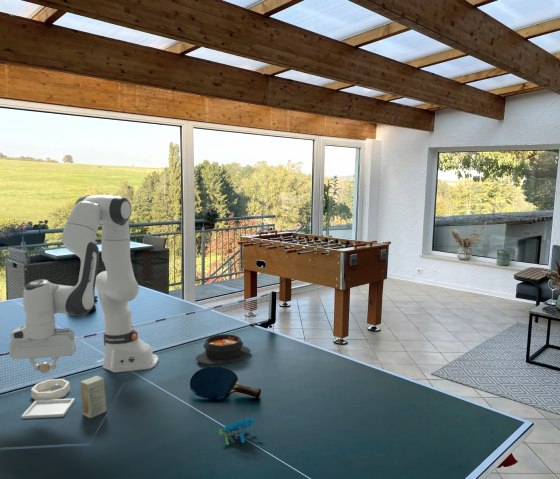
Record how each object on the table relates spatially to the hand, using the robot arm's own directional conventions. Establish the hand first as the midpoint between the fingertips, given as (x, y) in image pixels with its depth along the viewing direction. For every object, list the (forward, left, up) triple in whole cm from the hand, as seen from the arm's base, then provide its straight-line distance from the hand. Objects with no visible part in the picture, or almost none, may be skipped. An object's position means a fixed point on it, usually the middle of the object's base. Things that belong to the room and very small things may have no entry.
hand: (45, 369), depth 164 cm
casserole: (-58, -41, -15) cm, 72 cm away
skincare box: (-17, +5, -15) cm, 23 cm away
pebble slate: (+2, -12, -14) cm, 18 cm away
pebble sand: (0, 0, -1) cm, 1 cm away
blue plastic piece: (-64, +24, -15) cm, 70 cm away
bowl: (+3, -12, -14) cm, 19 cm away
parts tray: (-1, +1, -14) cm, 14 cm away
